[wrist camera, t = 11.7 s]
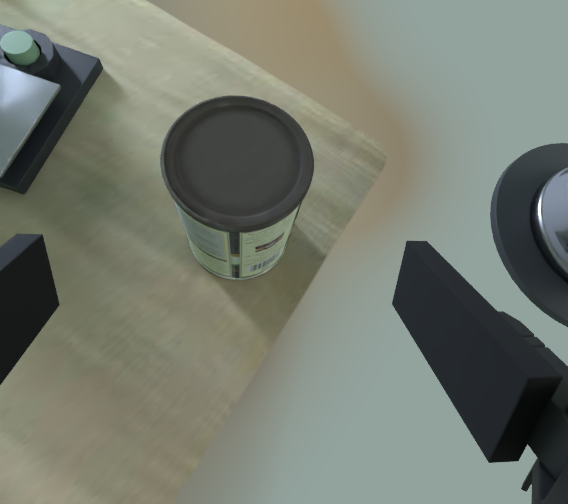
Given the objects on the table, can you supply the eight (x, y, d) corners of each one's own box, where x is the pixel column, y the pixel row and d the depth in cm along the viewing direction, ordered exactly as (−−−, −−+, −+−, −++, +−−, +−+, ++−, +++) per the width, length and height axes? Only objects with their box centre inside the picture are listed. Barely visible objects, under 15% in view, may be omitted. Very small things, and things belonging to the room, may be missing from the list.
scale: (103, 68, 43) (94, 46, 40) (24, 194, 37) (7, 179, 35) (2, 33, 43) (-14, 9, 40) (-92, 155, 37) (-119, 136, 34)
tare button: (45, 48, 40) (38, 36, 38) (30, 69, 39) (22, 57, 37) (18, 39, 40) (10, 26, 38) (2, 60, 39) (-7, 47, 37)
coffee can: (226, 169, 41) (220, 70, 27) (306, 221, 40) (341, 144, 27) (165, 243, 37) (125, 171, 24) (251, 301, 37) (260, 259, 23)
